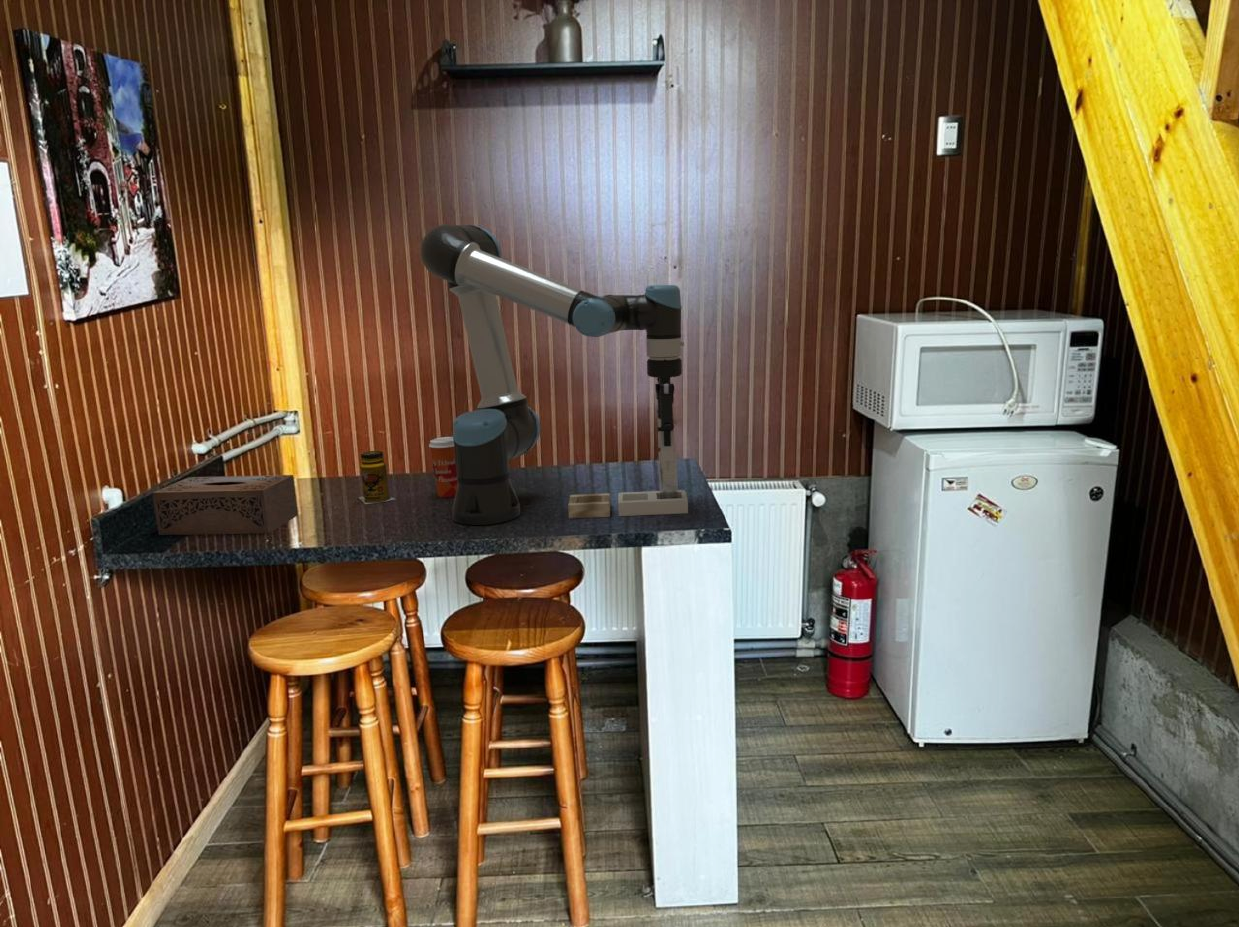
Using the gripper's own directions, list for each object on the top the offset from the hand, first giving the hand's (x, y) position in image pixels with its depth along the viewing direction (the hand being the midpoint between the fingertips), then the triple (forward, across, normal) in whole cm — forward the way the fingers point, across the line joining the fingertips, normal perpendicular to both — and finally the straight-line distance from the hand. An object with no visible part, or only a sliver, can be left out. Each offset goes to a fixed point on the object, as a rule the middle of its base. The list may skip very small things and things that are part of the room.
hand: (665, 453), depth 200 cm
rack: (+13, 0, +3) cm, 13 cm away
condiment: (+14, +21, +71) cm, 75 cm away
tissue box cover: (+15, +3, +100) cm, 101 cm away
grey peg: (+12, 0, -1) cm, 13 cm away
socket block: (+13, 0, +17) cm, 22 cm away
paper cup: (+14, +22, +53) cm, 59 cm away
